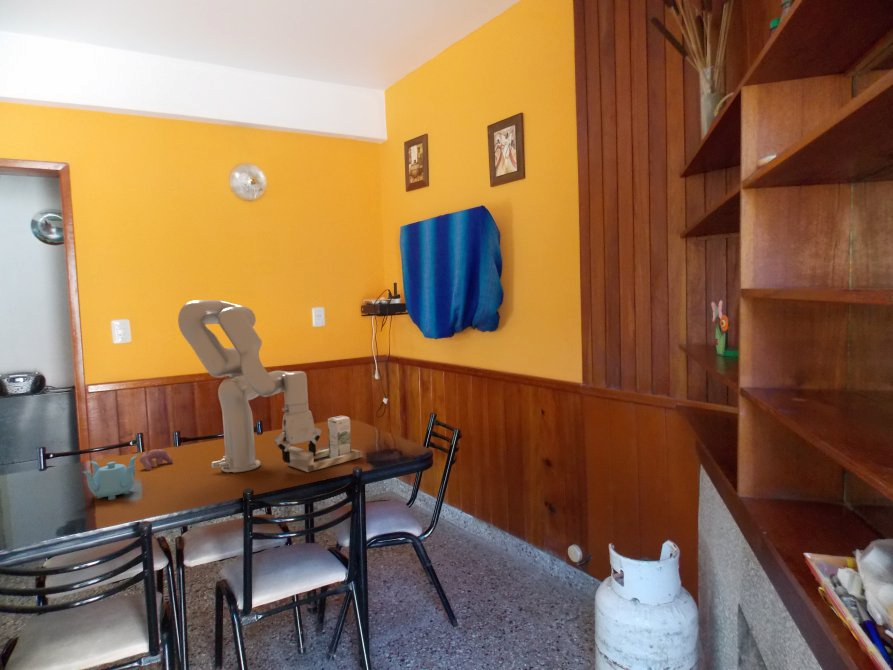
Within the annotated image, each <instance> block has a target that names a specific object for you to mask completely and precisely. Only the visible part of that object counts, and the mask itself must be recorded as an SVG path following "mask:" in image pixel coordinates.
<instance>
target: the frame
mask: <svg viewBox="0 0 893 670" xmlns="http://www.w3.org/2000/svg"><path fill="white" fill-rule="evenodd" d="M288 451H289V452H290V463H286V465H287V466H289V467H291V468H295V469H297V470H301V471H303V472H306V473H311V472H313V471H317V470H320V469H324V468H328V467H331V466H334V465H335V466H336V465H338V464H342V463H343V464H344V463H345V462H349V461H352V460H356V459H361V458H363V450H358V449H353V448H351V453H349V454H345V455H341V456H338V457H334V458H330V457H329V448H327V449H323V450H318V451H316V456H313V452H310V451H309V450H306V449H303V448H299V447H296V446H294V445H291V446H290V447H289V449H288ZM324 457H325V458H326V457H329V458H328V459H323V460H320V461H316V462H315V461H314V460H318V459H321V458H324Z"/></svg>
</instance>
